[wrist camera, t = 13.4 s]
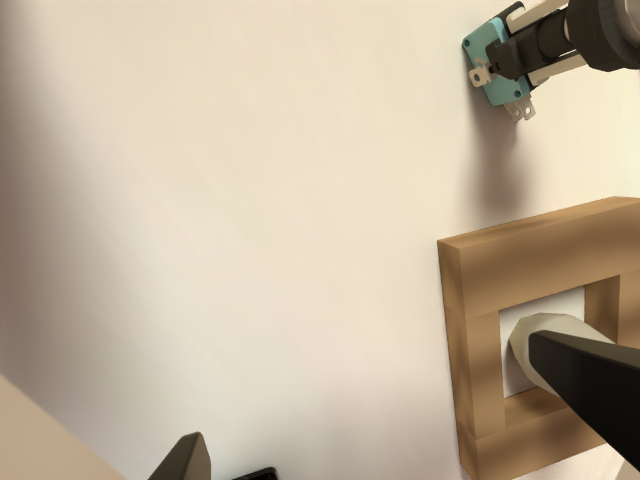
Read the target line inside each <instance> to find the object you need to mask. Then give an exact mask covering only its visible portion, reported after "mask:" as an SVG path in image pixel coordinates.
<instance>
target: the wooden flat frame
mask: <svg viewBox="0 0 640 480" xmlns="http://www.w3.org/2000/svg"><path fill="white" fill-rule="evenodd" d="M437 242H438V252H439V262H440V271H441V281H442V290H443V300H444V309H445V319H446V328H447V338H448V348H449V357H450V367H451V376H452V386H453V395H454V405H455V415H456V424H457V434H458V443H459V453H460V462H461V465H462V466H463V467H464V469H465V470H466V472H467V473H468V475H469V476H470V477H471V479H472V480H512V479H515V478H517V477H520V476H522V475H525V474H528V473H530V472H533V471H535V470H538V469H541V468H543V467H546V466H548V465H551V464H553V463H556V462H559V461H561V460H564V459H566V458H569V457H572V456H574V455H577V454H579V453H582V452H585V451H587V450H590V449H592V448H595V447H597V446H600V445H603V444H605V443H607V442H606V441H605V440H604V439H603V438H601V437H600V436H599V435H598V434H597V433H596V432H595V431H594V430H593V429H592V428H590V427H589V426H588V425H587V424H586V423H585V422H584V421H583V420H582V419H581V418H580V417H579V416H578V415H577V414H576V413H575V412H574V411H573V410H572V409H571V408H570V407H569V406H568V405H567V404H566V403H565V402H564V401H563V400H562V398H560V397H558V396H556V395H554V394H552V393H550V392H549V391H547V390H545V389H543V388H541V387H537V388H534V389H531V390H528V391H525V392H522V393H519V394H516V395H514V396H511V397H508V398H505V399H504V393H503V376H502V359H501V342H500V325H499V310H500V309H504V308H507V307H511V306H514V305H517V304H521V303H524V302H528V301H531V300H534V299H538V298H541V297H545V296H548V295H551V294H555V293H558V292H562V291H565V290H568V289H572V288H575V287H578V286H582V285H585V323H586V324H588V325H589V326H591V327H592V328H594V329H595V330H597V331H598V332H599V333H601V334H602V335H604V336H605V337H607V338H608V339H610V340H611V341H613V342H614V343H615V344H617V345H622V346H627V347H632V348H637V349H640V198H631V197H615V196H613V197H609V198H605V199H601V200H597V201H593V202H589V203H585V204H581V205H577V206H573V207H569V208H565V209H561V210H557V211H553V212H549V213H545V214H541V215H537V216H533V217H529V218H525V219H521V220H517V221H513V222H509V223H505V224H501V225H497V226H493V227H489V228H485V229H481V230H477V231H473V232H469V233H465V234H461V235H457V236H453V237H449V238H445V239H441V240H437Z"/></svg>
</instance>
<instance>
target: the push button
mask: <svg viewBox="0 0 640 480" xmlns="http://www.w3.org/2000/svg"><path fill="white" fill-rule="evenodd" d="M568 2H569V3H568ZM566 3H568V7H566V8H564V9H562V10H560V9H557V8H559V7H561V6H563V5H565V4H566ZM555 9H557V10H555ZM554 10H555V11H554ZM552 11H553V12H552ZM550 12H551V13H550ZM548 13H549V14H548ZM546 14H548V15H546ZM545 15H546V16H545ZM543 16H544V17H543ZM463 46H464V48H465V50H466V51H467V53H468V56H469V58H470V60H471V62H472V64H473V67H474V69H473V70H471V71H469V77H470V79H471V81H472V83H473V85H474V86H475V87H479V86H481V85H482V86H483V88H484V91H485V93H486V95H487V97H488V99H489V102H490V103H491V105H493V106H498V105H501V104H504V107H505V109H506V110H507V109H508V110H509V113H510V115H511V117H512V119H513V122H515V123H516V122H517V121H519V120H520V119H522V118H523V117H524V119H525V120H528V119H530V118H531V117H533V116H534V115H535V113H536V112H535V110H534V108H533V105H532V103H531V100H530V98H531V95H530V92H531V91H532V90H534V89H535V88H536V87H538V86H539V85H540V84H542V83H544V82H545V81H546V80H548V79H549V77H550V76H553V75H556V74H559V73H562V72H565V71H568V70H571V69H574V68H577V67H580V66H583V65H586V64H588V65H589V67H591V68H593V69H597V70H601V71H605V72H611V71H614V70H618V69H621V68H627V69H635V70H638V69H640V0H542V1H540V2H539V3H537V4H535V5H534V6H532V7H530V8H529V9H527V10H525V7H524V5H523V3H522V2H520V1H518V2H516V3H514V4H513V5H511V6H510V7H508V8H507V9H505V10H504V11H502V12H501V13H499V14H498V15H496V16H495V17H493V18H492V19H490V20H489V21H487V22H486V23H485V24H483V25H482V26H480V27H479V28H478V29H476V30H475V31H473V32H472V33H471V34H469V35H468V36H467V37H465V38H464V39H463ZM636 47H637V48H636ZM575 49H576V51H573V52H571V53H568V54H565V55H563V56H560V55H562V54H564V53H567V52H570V51H572V50H575ZM559 56H560V57H559ZM475 74H477V75H478V78H479V81H477V80H476V79H475ZM527 107H529V108H530V112H529V114H527V113H526V108H527ZM515 110H518V112H519V114H518V116H515V115H514V112H515Z"/></svg>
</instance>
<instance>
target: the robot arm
mask: <svg viewBox="0 0 640 480" xmlns="http://www.w3.org/2000/svg"><path fill="white" fill-rule="evenodd" d="M528 358H529V362H530V364H531V366H532V367H533V369H534V370H535V371H536V372H537V373H538V374H539V375H540V376H541V377H542V378H543V379H544V380H545V381H546V383H547V384H548V385H549V386H550V387H551V388H552V389H553V390H554V391H555V392H556V393H557V394H558V395H559V396H560V397H561V398H562V400H563V401H564V402H565V403H566V404H567V405H568V406H569V407H570V408H571V409H572V410H573V411H574V412H575V413H576V414H577V415H578V416H579V417H580V418H581V419H582V420H583V421H584V422H585V423H586V424H587V425H588V426H589V427H590V428H592V429H593V430H594V431H595V432H596V433H597V434H598V435H599V436H600V437H601V438H603V439H604V440H605V441H606V442H607V443H608V444H609V445H610V446H611V447H612V448H613V449H615V450H616V451H617V452H618V453H619V454H620V455H621V456H622V457H623V458H624V459H626V460H627V461H628V462H629V463H630V464H631V465H632V466H633V467H635V468H636V469H637V470H638V471H639V472H640V349H637V348H632V347H627V346H622V345H617V344H613V343H608V342H603V341H598V340H593V339H588V338H583V337H578V336H573V335H569V334H564V333H559V332H554V331H549V330H539V331H536V332H533V333H531V334H529V336H528ZM268 475H271V476H268ZM148 480H211V461H210V457H209V454H208V451H207V447H206V444H205V441H204V438H203V435H202V434H201V432H195V433H191V434H188V435H185V436H183V437H181V438H180V440H179V441H178V442H177V443H176V445H175V446H174V447H173V448H172V450H171V451H170V452H169V453H168V455H167V456H166V457H165V458H164V460H163V461H162V462H161V464H160V465H159V466H158V467H157V469H156V470H155V471H154V472H153V474H152V475H151V476H150V477H149V479H148ZM233 480H279V479H278V475H277V472H276V469H275V468H273V467H269V468H265V469H262V470H259V471H256V472H253V473H250V474H247V475H245V476H242V477H239V478H236V479H233Z"/></svg>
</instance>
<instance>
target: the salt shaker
mask: <svg viewBox="0 0 640 480" xmlns="http://www.w3.org/2000/svg"><path fill="white" fill-rule="evenodd" d="M539 330H549V331H554V332H559V333H564V334H569V335H573V336H578V337H583V338H588V339H593V340H598V341H603V342H608V343H613V344H615V343H614V342H613V341H611V340H610V339H608V338H607V337H605V336H604V335H602V334H601V333H599V332H598V331H597V330H595V329H594V328H592V327H591V326H589V325H588V324H586V323H585V322H583V321H581V320H580V319H578V318H576V317H574V316H571V315H567V314H552V313H538V314H535V315H532V316H528V317H525V318H522V319H520V320H519V322H518V324H517V325H516V327H515V329H514V331H513V332H512V334H511V336H510V337H509V341H510V344H511V347H512V351H513V354H514V357H515V358H516V360H517V361H518V363H519V365H520V366H521V368H522V370H523V371H524V373H525V374H526V376H527V377H528V379H529V380H530V381H531V382H532V383H534V384H536V385H537V386H539V387H541V388H543V389H545V390H547V391H549V392H550V393H552V394H554V395H556V396H558V397H560V396H559V395H558V394H557V393H556V392H555V391H554V390H553V389H552V388H551V387H550V386H549V385H548V384H547V383H546V381H545V380H544V379H543V378H542V377H541V376H540V375H539V374H538V373H537V372H536V371H535V370H534V369H533V367H532V366H531V364H530V362H529V358H528V336H529V334H531V333H533V332H536V331H539ZM560 398H561V397H560Z"/></svg>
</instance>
